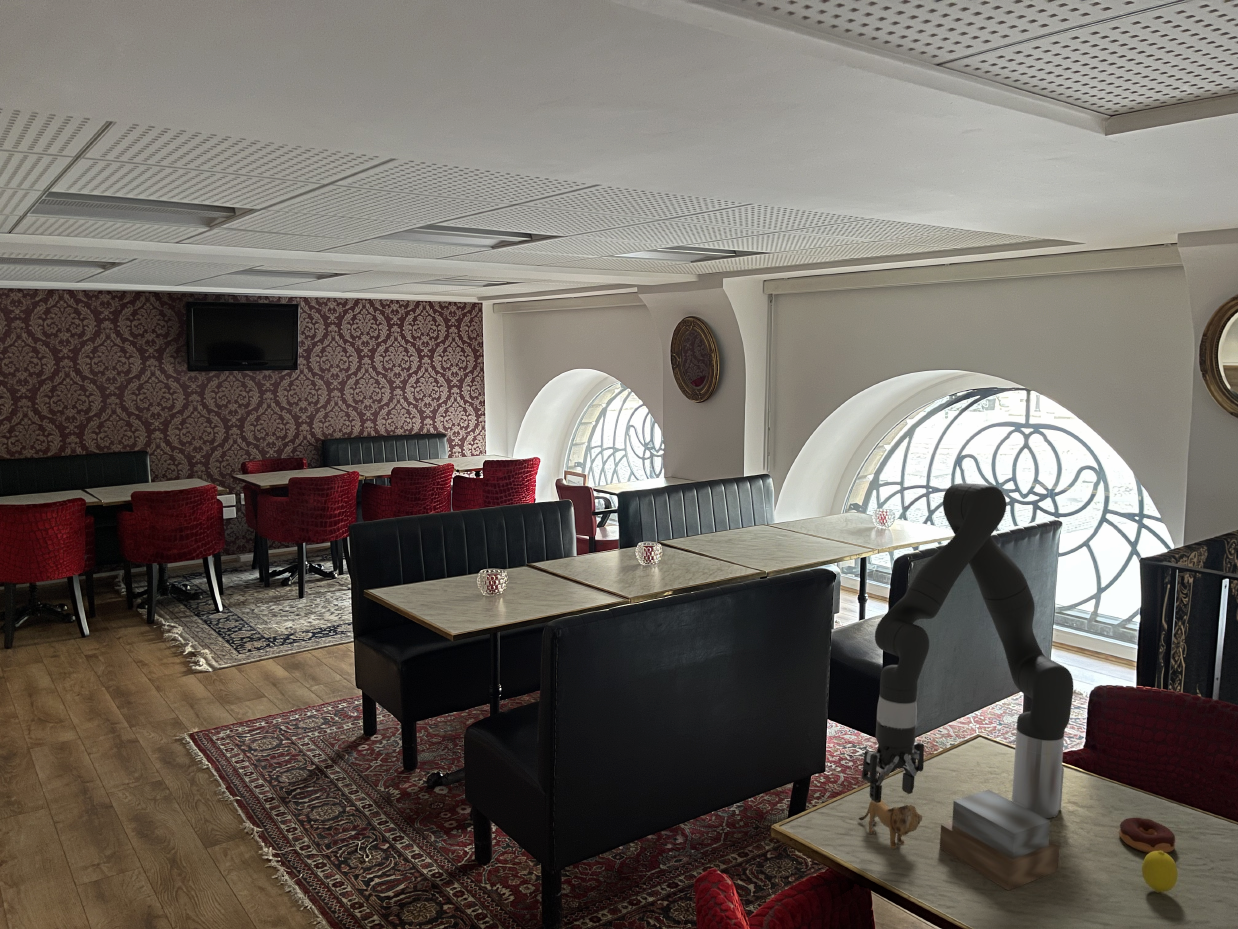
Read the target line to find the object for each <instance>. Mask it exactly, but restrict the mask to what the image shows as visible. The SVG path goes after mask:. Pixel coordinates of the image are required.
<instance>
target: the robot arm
mask: <svg viewBox="0 0 1238 929" xmlns="http://www.w3.org/2000/svg"><path fill="white" fill-rule="evenodd" d="M942 509H943V512H944V517H945V518H946V522H947V523H948V525H949V527H950V529H951V530H952V533H953V534H954V535H953V537H952V538H951V539H950V540H949V541H948V542H947V543H946V544H945V545H944V546H943V547H942V548H941V549H939V550H938V551H937V552H935V554H933V555H932V556H931V557H930V558H929V559H928V560H927V561H925V563H923V565H922V566H921V567H920V568H919V570H918V571H917V573H916V574H915V576H914V578H913V580H912V581H911V584H910V585H909V587H908V588H907V590H906V592H905V594H904V595H903V596H902V598H900V599H899V600H898V601H897V602H896V603H895V604H894V605H893V606H892V607H891V608H890V609H889V610H888V611H887V612H886V613H885V615H883V616H882V618H881V619H880V620H879V622H878V623H877V625H876V628H875V632H874V640H875V644H876V646H877V647H878V648H879V649H880V650H882V651H883V652H885V653H888V654H891V655H893V656H896V657H898V659H899V660H898V664H890V665H886V666H885V667H883V668H882V670H881V673H880V681H879V697H878V702H877V709H876V723H875V724H876V725H875V726H876V728H875V740H876V742H877V749H876V751H869V750H865V751H864V755H863V764H862V772H861V779H862V780H863V781H864V782H867V783H869V798H870V800H873V801H874V802H876V803H879V802H881V800H882V792H883V782H884V780H885V778H888V777H889V775H890V774H891V772H893V771H896V770H901V769H902V770H903V773H902V781H901V782H902V783H901V785H902V786H901V790H902V791H903V792H904V793H907V794H908V795H909V794H910V795H911V794H913V791H914V787H915V777H916V776H917V774H918V772H923V770H924V764H925V763H924V758H925V757H924V756H925V745H924V743H923V742H920V741H919V740H916V731H917V716H918V708H917V707H918V706H917V705H918V704H917V700H918V699H917V698H918V697H917V696H918V683H919V682H918V681H919V678H920V675H921V673H922V670H923V667H924V663H925V661H926V659H927V656H928V653H929V651H930V650H929V649H930V639H929V635H928V633H927V631H926V630H925V628H923V627H921V626H920V625H918V624H914V623H916V622H917V621H919V620H930V619H933V618H935V617H937V614H938V613H939V611H940V609H941V608H942V606H943V605H944V602H945V601H946V599H947V597H948V595H949V593H950V592H951V590H952V588H953V587H954V585H955V583H956V582H957V580H958V578H959V577H960V575H962V573H963V571H964V569H965V568H967V566H968V565H969V566H970V568H971V571H972V573H973V576H974V577H975V580H976V583H977V586H978V588H979V590H980V594H981V597H982V598H983V601H984V603H985V606H986V608H987V611H988V613H989V615H990V617H991V620H992V621H993V625H994V627H995V630H996V632H997V634H998V637H999V639H1000V642H1001V644H1002V647H1003V650H1004V654H1005V657H1006V661H1007V665H1008V668H1009V671H1010V675H1011V678H1012V681H1013V684H1014V686H1016V688H1017V689H1018V690H1019V691H1020V692H1021V693H1022V694H1024V695H1025V696H1027V698H1028V697H1029V698H1030V699H1031V708H1030V711H1025V712H1022V713H1020V714H1019V715H1018V716H1017V720H1016V733H1015V734H1016V735H1015V747H1014V749H1015V750H1014V764H1013V778H1012V779H1013V780H1012V792H1011V793H1012V794H1011V801H1012V802H1014V803H1016V804H1018V805H1020V806H1022V807H1024V808H1026V809H1028V810H1030V811H1032V812H1034V813H1036V814H1038V815H1040V816H1042V817H1043V818H1045V819H1051V818H1052V819H1053V818H1055V817H1057V816H1058V814H1059V811H1060V810H1061V809H1062V798H1063V797H1062V796H1063V788H1064V787H1063V784H1064V772H1065V771H1064V770H1065V769H1064V766H1063V756H1064V742H1065V741H1064V740H1065V731H1066V728H1067V727H1068V725H1069V722H1070V719H1071V711H1072V704H1073V698H1074V679H1073V676H1072V673H1071V671H1070V670H1069V669H1068V668H1067V667H1065V666H1064V665H1062V664H1060V663H1058V662H1056V661H1054V660H1052V659H1051V658H1048V657H1047V656H1046V655H1045V654H1044V652H1043V651H1042V649H1041V648H1040V645H1039V642H1038V641H1037V639H1036V636H1035V634H1034V629H1033V628H1034V627H1033V624H1034V617H1035V611H1036V610H1035V609H1036V608H1035V607H1036V605H1035V601H1034V597H1033V594H1032V591H1031V588H1030V586H1029V584H1028V582H1027V579H1026V577H1025V575H1024V573H1023V572H1022V569H1020V568H1019V566H1018V565H1017V564H1016V563H1015V562H1014V561H1013V559H1012V558H1011V557H1010V556H1009V555H1008V554H1007V553H1006V552H1005V551H1004V550H1003V549H1002V548H1001V546H1000V545H999V544H998V543H997V542H996V540H994V538H993V536H992V535H993V533H994V532H995V531H996V530H997V528H998V526H999V525H1000V524H1001V522H1002V521H1003V519H1004V518H1005V514H1006V511H1007V500H1006V496H1005V494H1004V492H1003V491H1002V490H1001V489H1000V488H998V487H997V486H995V485H991V484H985V483H984V484H983V483H972V482H971V483H969V482H966V483H965V482H964V483H963V482H961V483H954V484H952V485H950V486H949V487H947V489H946V490H945V492H944V494H943V498H942ZM881 766H882V767H883V768H884V769H883V768H881ZM878 774H879V775H878ZM877 775H878V777H877Z"/></svg>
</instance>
